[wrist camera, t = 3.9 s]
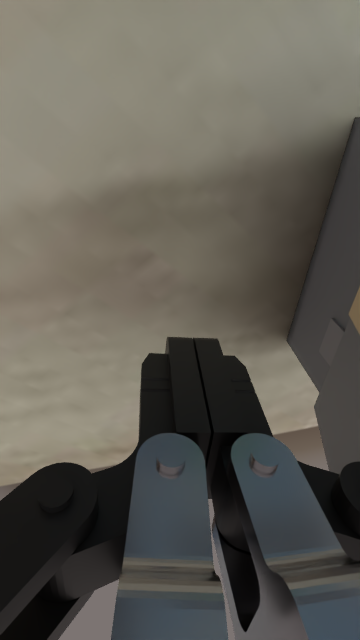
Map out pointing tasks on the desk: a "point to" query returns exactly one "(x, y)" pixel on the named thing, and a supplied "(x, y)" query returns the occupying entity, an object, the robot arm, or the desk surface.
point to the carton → (331, 272)
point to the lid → (342, 398)
